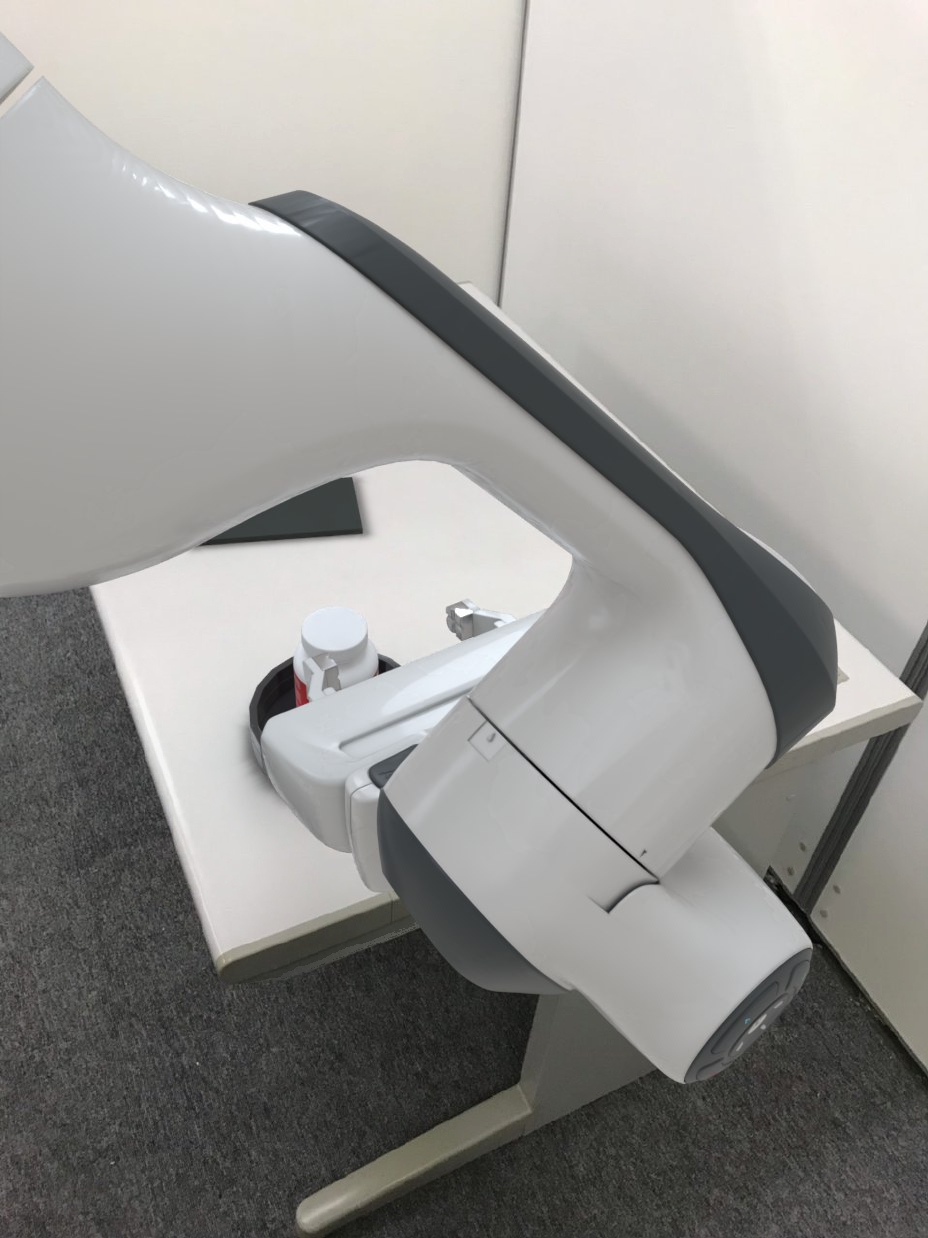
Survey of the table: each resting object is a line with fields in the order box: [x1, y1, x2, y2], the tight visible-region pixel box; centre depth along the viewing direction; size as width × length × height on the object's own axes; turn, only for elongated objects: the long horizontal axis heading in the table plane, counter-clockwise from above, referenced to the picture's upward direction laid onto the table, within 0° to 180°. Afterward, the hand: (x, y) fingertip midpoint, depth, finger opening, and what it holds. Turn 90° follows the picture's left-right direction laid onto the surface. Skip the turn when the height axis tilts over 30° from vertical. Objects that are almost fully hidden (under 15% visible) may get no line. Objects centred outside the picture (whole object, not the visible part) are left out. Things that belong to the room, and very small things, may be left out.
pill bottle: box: [293, 605, 379, 707], centre depth 72 cm, size 6×6×11 cm
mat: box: [199, 476, 364, 546], centre depth 97 cm, size 16×9×1 cm, turn 101°
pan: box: [248, 652, 402, 778], centre depth 75 cm, size 13×13×3 cm
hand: (387, 637), depth 57 cm, fingers open, 8 cm apart
